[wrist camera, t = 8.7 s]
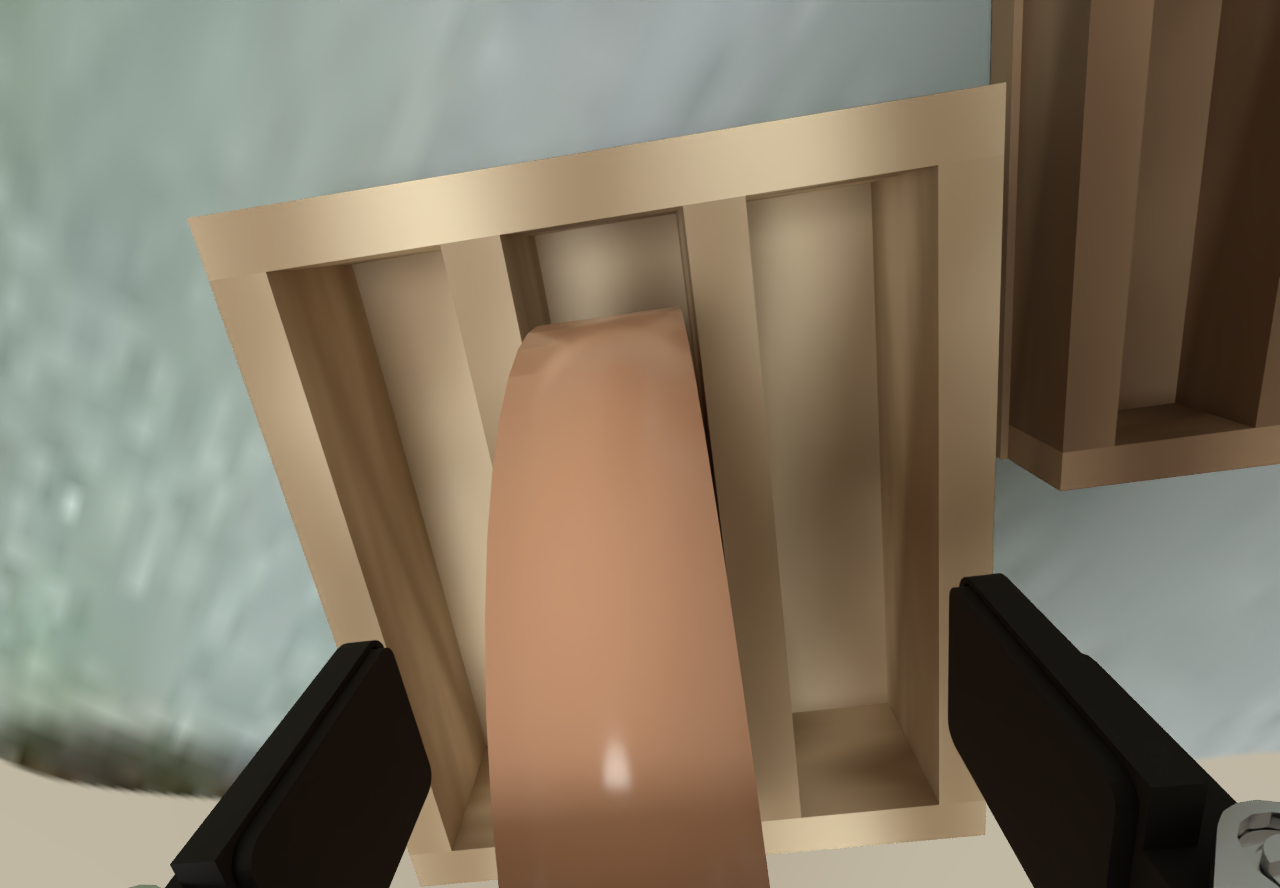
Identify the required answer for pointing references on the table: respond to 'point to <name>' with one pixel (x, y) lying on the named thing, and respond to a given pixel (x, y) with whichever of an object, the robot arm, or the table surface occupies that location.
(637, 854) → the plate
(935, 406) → the rack
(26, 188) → the table surface
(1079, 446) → the narrow wooden tray
